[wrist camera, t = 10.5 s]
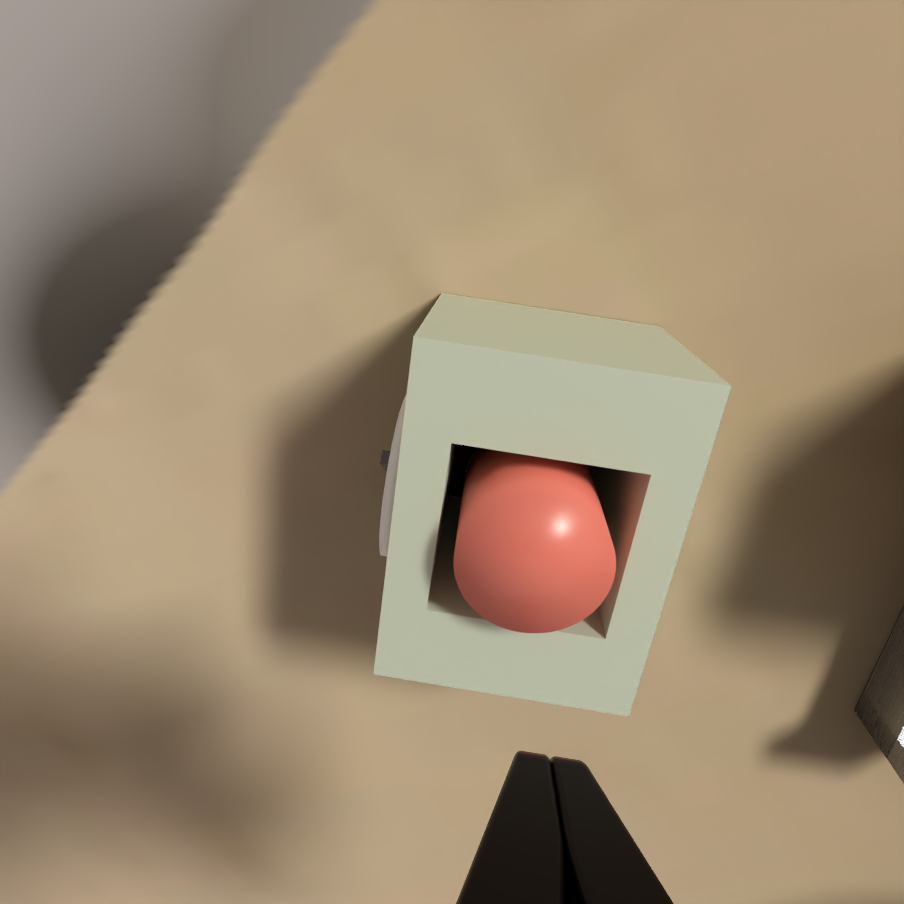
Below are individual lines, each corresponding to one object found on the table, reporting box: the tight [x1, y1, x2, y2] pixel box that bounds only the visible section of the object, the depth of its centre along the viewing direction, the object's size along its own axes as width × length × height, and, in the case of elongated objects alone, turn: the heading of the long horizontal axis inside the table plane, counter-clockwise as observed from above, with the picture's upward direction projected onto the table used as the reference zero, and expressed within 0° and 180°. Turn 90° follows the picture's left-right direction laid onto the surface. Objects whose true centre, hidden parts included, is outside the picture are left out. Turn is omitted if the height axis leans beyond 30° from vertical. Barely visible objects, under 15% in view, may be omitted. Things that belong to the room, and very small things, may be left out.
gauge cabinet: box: [373, 293, 731, 716], centre depth 16 cm, size 8×6×6 cm
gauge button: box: [453, 448, 616, 633], centre depth 15 cm, size 3×3×4 cm
